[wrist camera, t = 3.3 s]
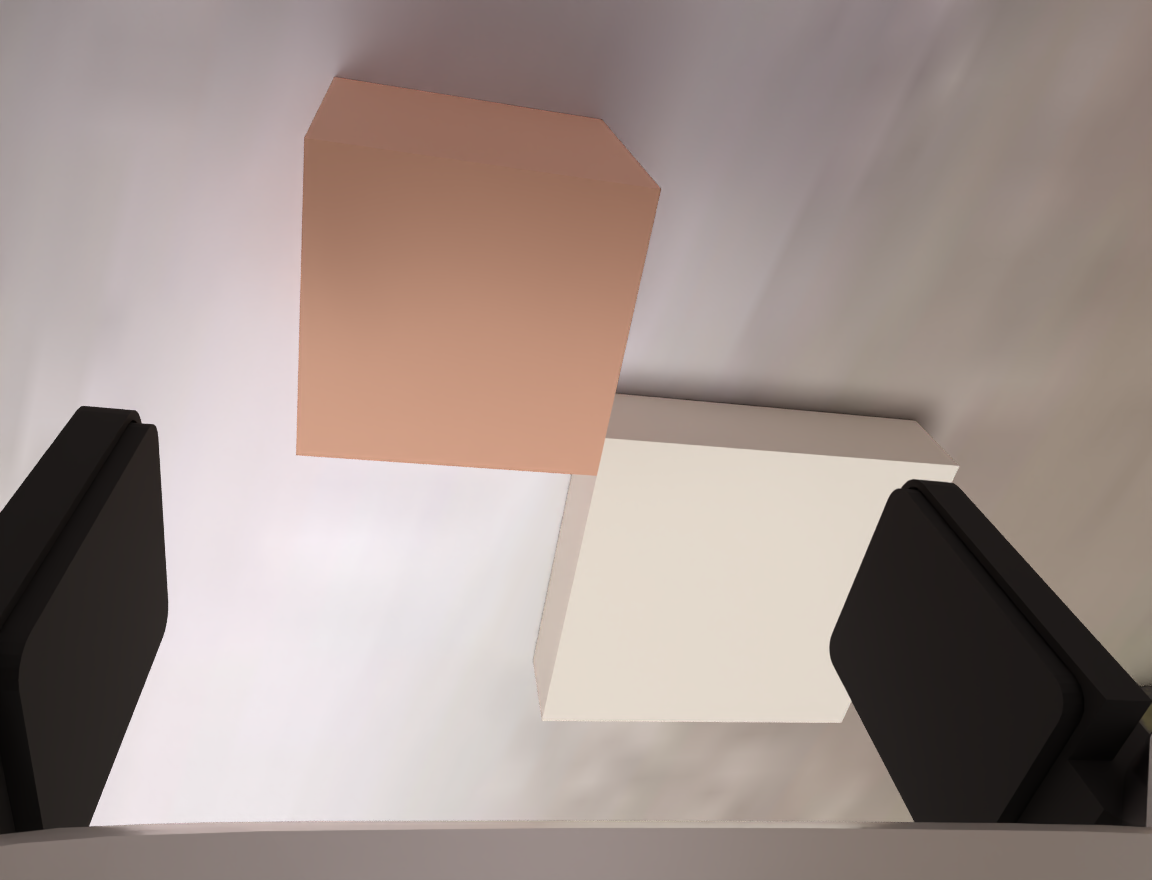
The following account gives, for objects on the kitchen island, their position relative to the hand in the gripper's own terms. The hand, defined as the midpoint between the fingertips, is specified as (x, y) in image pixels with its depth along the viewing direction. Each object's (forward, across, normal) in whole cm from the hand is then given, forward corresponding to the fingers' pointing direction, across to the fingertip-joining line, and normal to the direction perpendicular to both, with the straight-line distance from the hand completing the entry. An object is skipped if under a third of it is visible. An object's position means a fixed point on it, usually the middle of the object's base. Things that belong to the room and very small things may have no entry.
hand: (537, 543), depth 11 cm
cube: (+12, +1, 0) cm, 12 cm away
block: (+12, -8, +9) cm, 17 cm away
